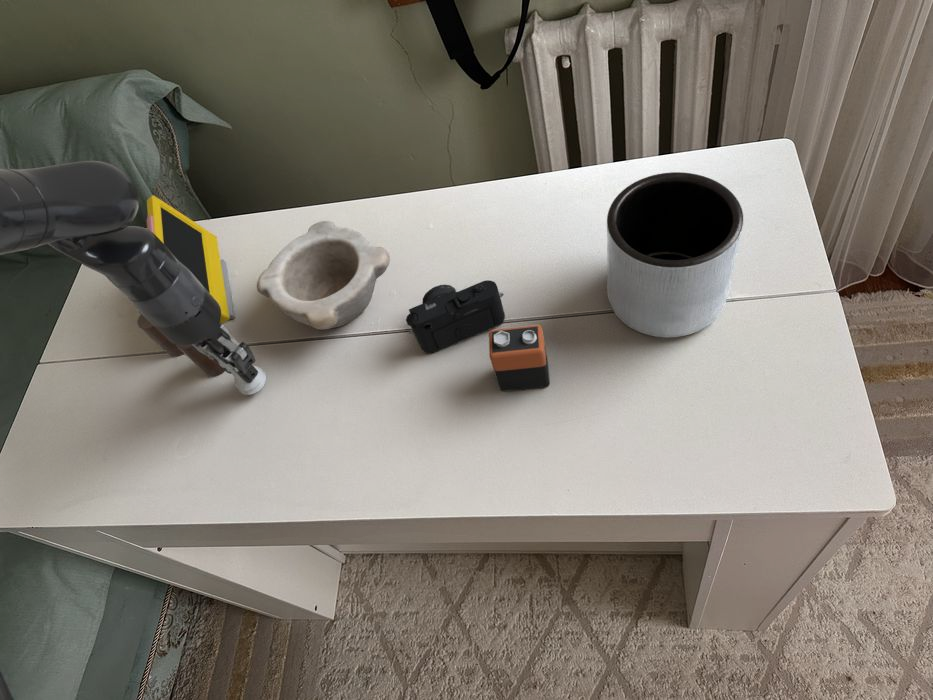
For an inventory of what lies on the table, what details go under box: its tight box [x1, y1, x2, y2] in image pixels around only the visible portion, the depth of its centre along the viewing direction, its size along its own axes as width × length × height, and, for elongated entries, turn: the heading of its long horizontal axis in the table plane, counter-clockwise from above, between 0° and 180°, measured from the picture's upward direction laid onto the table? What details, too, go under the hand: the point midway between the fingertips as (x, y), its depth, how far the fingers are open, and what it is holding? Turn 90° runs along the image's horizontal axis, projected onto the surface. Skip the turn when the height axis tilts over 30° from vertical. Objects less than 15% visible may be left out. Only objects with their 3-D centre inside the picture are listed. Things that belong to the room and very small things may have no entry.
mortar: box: [256, 220, 391, 330], centre depth 96 cm, size 17×17×9 cm
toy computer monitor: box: [146, 195, 236, 325], centre depth 100 cm, size 20×8×16 cm, turn 20°
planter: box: [606, 171, 744, 338], centre depth 82 cm, size 16×16×16 cm
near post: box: [176, 345, 226, 378], centre depth 95 cm, size 4×4×8 cm
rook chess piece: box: [219, 354, 267, 396], centre depth 90 cm, size 4×4×8 cm
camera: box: [405, 279, 506, 355], centre depth 90 cm, size 14×7×8 cm, turn 110°
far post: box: [136, 313, 185, 358], centre depth 99 cm, size 4×4×8 cm
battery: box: [488, 324, 551, 392], centre depth 82 cm, size 4×7×10 cm, turn 90°
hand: (243, 372), depth 91 cm, fingers closed on rook chess piece, 3 cm apart
